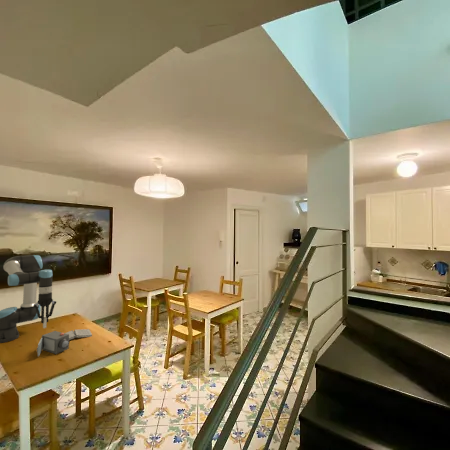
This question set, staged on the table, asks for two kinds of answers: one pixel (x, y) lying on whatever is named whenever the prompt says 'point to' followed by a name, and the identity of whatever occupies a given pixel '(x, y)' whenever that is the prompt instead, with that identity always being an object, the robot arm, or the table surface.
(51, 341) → the cam body
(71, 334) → the gadget
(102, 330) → the table surface
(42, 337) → the door
